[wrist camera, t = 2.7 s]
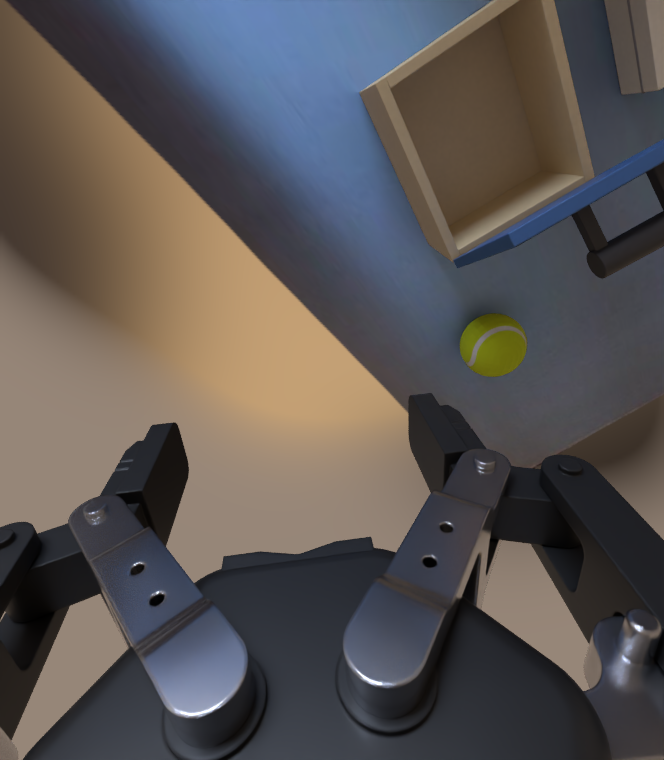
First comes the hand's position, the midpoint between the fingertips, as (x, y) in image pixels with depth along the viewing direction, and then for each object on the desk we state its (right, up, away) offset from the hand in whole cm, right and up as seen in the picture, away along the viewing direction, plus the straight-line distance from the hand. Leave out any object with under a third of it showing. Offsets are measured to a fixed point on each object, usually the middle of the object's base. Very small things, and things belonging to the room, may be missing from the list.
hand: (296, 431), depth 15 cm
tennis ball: (+18, +7, +34) cm, 39 cm away
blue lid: (+16, +14, +13) cm, 25 cm away
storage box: (+13, +24, +24) cm, 36 cm away
